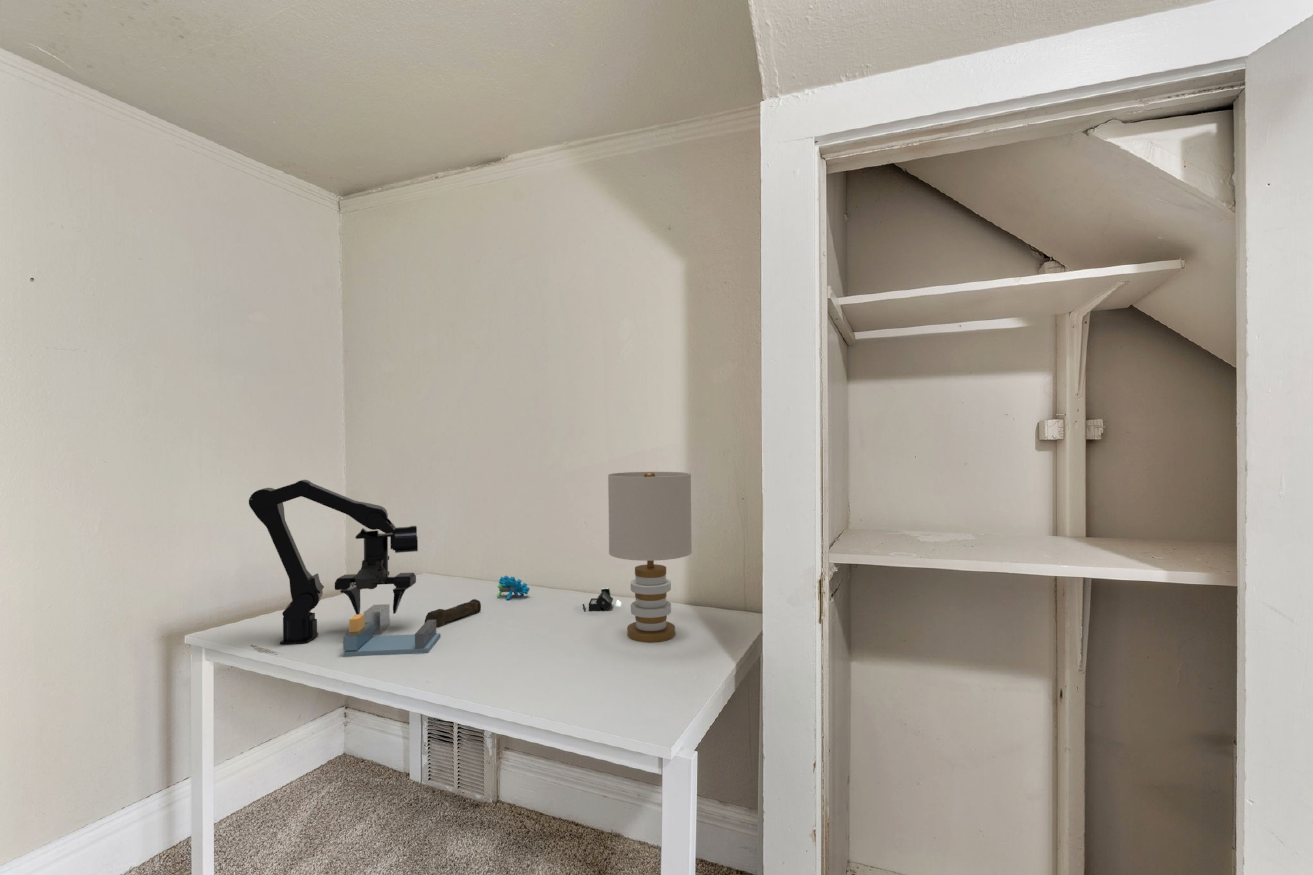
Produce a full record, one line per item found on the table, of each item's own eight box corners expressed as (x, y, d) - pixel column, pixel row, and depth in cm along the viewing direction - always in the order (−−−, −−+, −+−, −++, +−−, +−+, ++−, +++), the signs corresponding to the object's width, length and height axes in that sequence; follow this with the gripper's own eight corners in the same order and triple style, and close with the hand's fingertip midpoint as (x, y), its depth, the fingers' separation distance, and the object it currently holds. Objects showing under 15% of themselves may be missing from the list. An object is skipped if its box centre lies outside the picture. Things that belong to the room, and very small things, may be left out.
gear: (536, 591, 190) (518, 573, 184) (528, 607, 186) (510, 590, 181) (510, 591, 196) (492, 574, 190) (502, 608, 192) (483, 590, 186)
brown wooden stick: (471, 611, 175) (471, 595, 175) (481, 613, 173) (481, 597, 173) (417, 630, 158) (417, 612, 158) (427, 632, 156) (427, 614, 156)
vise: (343, 656, 139) (343, 636, 139) (362, 640, 150) (361, 622, 150) (428, 652, 141) (428, 633, 141) (440, 637, 152) (440, 619, 152)
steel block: (364, 635, 154) (363, 612, 154) (374, 627, 161) (373, 604, 161) (380, 635, 154) (380, 611, 154) (389, 626, 161) (389, 604, 161)
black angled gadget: (623, 617, 168) (622, 597, 168) (569, 617, 169) (569, 598, 169) (626, 602, 183) (626, 584, 183) (577, 602, 184) (577, 585, 184)
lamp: (685, 651, 140) (683, 475, 140) (599, 645, 144) (597, 474, 144) (697, 623, 161) (696, 469, 161) (621, 619, 165) (620, 469, 165)
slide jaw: (343, 650, 139) (343, 623, 139) (361, 635, 150) (361, 610, 150) (356, 650, 139) (356, 623, 139) (374, 634, 150) (374, 609, 150)
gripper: (324, 561, 149) (325, 624, 149) (403, 559, 150) (403, 621, 150) (343, 553, 160) (344, 611, 160) (416, 551, 161) (416, 609, 161)
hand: (376, 613), depth 157 cm, fingers open, 9 cm apart
